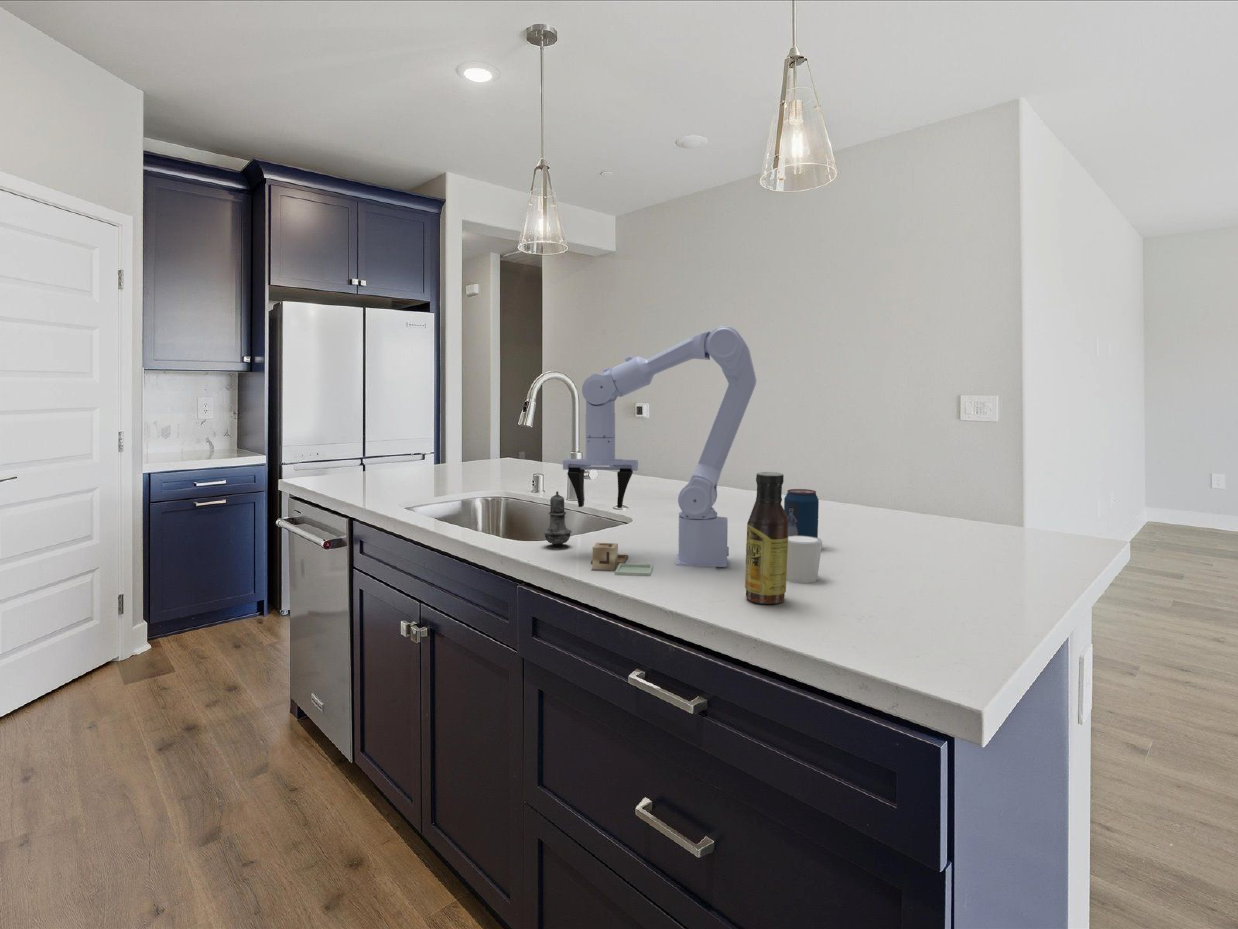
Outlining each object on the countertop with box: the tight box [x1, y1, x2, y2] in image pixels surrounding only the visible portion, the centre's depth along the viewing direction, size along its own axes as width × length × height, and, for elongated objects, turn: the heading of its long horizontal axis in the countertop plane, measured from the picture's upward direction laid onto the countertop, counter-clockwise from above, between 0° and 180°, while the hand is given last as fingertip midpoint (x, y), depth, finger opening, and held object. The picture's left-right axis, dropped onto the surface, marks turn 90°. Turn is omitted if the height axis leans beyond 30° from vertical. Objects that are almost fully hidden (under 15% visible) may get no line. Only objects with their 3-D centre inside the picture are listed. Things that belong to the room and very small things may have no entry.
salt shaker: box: [542, 490, 572, 550], centre depth 141 cm, size 6×6×12 cm
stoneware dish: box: [614, 563, 654, 577], centre depth 122 cm, size 6×6×1 cm
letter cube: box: [592, 542, 619, 570], centre depth 124 cm, size 4×4×4 cm
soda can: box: [783, 488, 820, 538], centre depth 142 cm, size 7×7×12 cm
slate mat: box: [591, 565, 618, 572], centre depth 124 cm, size 4×4×1 cm
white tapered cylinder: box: [786, 536, 823, 584], centre depth 118 cm, size 7×7×7 cm
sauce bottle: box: [744, 471, 788, 605], centre depth 104 cm, size 7×6×20 cm
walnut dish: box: [590, 553, 629, 565], centre depth 130 cm, size 6×6×1 cm
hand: (600, 506), depth 133 cm, fingers open, 7 cm apart
